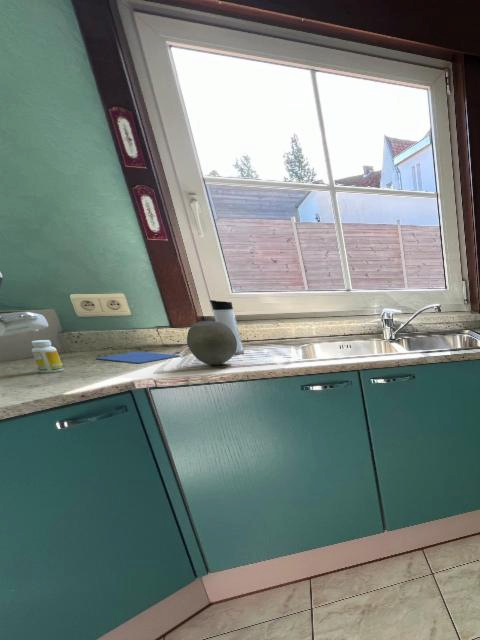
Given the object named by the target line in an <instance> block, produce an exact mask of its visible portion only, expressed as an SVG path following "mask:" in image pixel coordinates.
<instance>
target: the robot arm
mask: <svg viewBox="0 0 480 640" xmlns="http://www.w3.org/2000/svg"><path fill="white" fill-rule="evenodd" d="M3 282H4V275H3V274H2V271H0V288H1V287H2V285H3ZM48 327H49V323H48V320H47V318H46V317H45V316H44V315H43V314H41V313H36V312H30V311H17V312H12V313H11V312H10V313H5V314H1V315H0V338H1V337H5V336H11V335H17V334H23V333H28V332H30V333H35V332H36V333H37V332H39V330H43V329H47V328H48Z"/></svg>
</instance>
